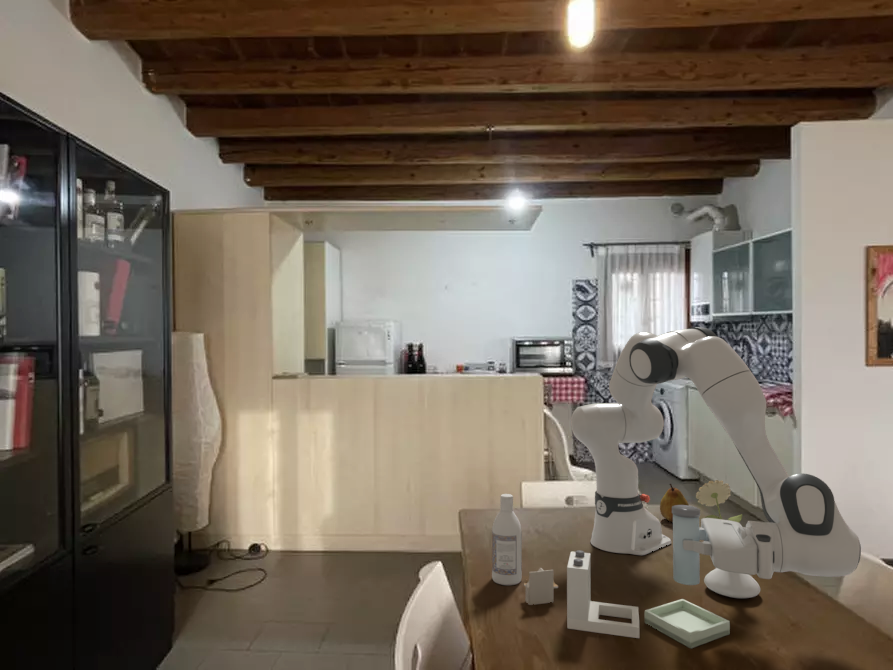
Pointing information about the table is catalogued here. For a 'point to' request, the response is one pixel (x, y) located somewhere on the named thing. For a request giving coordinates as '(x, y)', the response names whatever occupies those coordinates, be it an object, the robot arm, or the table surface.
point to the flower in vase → (717, 578)
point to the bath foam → (506, 544)
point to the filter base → (594, 603)
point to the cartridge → (683, 528)
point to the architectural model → (540, 587)
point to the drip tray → (687, 623)
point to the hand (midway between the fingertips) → (681, 538)
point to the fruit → (671, 502)
